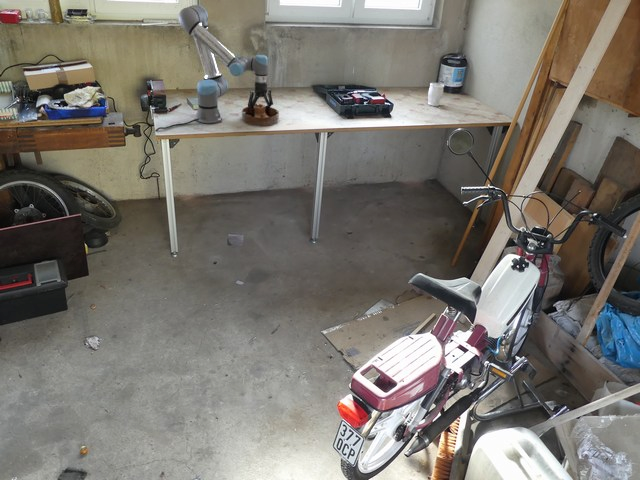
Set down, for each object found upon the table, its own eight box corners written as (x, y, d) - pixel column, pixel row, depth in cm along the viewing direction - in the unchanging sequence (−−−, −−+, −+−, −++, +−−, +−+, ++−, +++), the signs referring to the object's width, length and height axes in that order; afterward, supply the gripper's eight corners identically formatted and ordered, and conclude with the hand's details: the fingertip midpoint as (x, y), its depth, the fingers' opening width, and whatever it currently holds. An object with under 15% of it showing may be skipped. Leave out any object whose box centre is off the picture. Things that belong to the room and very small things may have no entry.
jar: (425, 105, 391) (429, 85, 383) (426, 101, 400) (430, 81, 392) (440, 107, 389) (444, 87, 381) (440, 103, 398) (444, 83, 390)
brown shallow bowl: (252, 128, 323) (252, 119, 320) (235, 116, 339) (235, 108, 336) (285, 123, 335) (285, 115, 332) (267, 112, 350) (267, 104, 347)
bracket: (250, 114, 342) (250, 103, 338) (262, 113, 345) (263, 103, 341) (257, 123, 328) (257, 113, 324) (270, 123, 331) (270, 112, 327)
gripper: (247, 84, 316) (247, 121, 327) (279, 81, 327) (278, 116, 339) (241, 81, 321) (241, 117, 333) (273, 78, 332) (272, 113, 344)
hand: (260, 116), depth 336 cm, fingers open, 10 cm apart
